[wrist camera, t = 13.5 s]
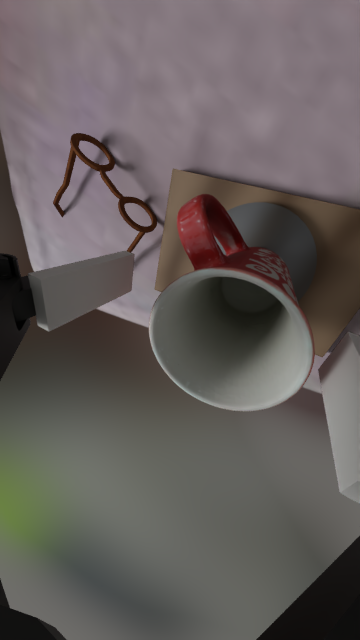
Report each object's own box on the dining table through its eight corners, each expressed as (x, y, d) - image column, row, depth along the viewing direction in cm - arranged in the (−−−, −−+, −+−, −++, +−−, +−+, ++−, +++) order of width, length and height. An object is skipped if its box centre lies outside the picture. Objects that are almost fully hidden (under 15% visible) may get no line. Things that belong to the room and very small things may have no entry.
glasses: (164, 226, 27) (142, 228, 23) (114, 281, 35) (90, 290, 31) (100, 136, 26) (65, 122, 22) (62, 214, 34) (31, 214, 30)
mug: (307, 315, 22) (325, 422, 11) (222, 325, 26) (174, 407, 15) (288, 179, 18) (284, 127, 7) (192, 219, 22) (100, 226, 11)
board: (414, 222, 17) (430, 224, 15) (320, 350, 25) (323, 362, 23) (178, 170, 23) (168, 166, 21) (159, 286, 31) (150, 291, 29)
